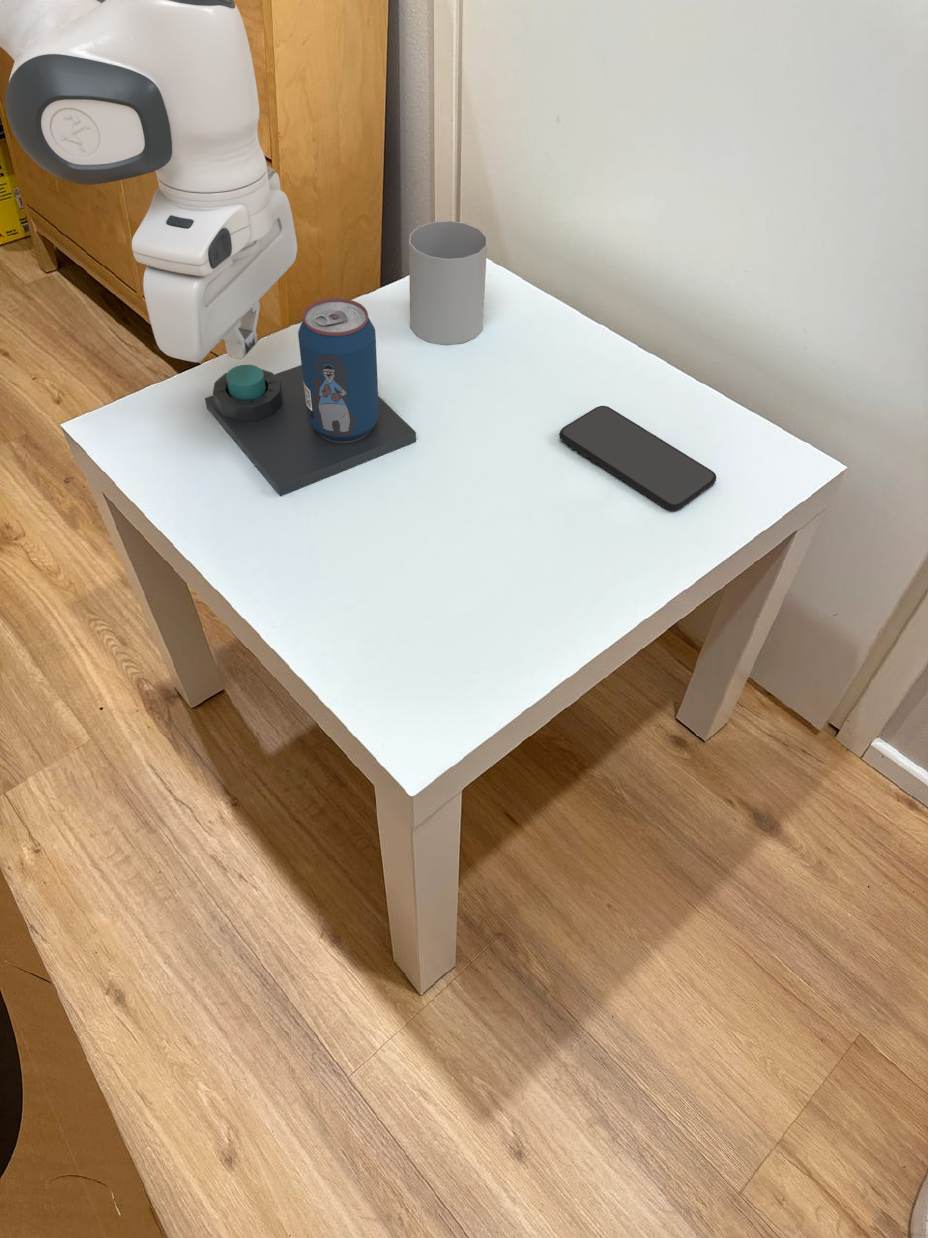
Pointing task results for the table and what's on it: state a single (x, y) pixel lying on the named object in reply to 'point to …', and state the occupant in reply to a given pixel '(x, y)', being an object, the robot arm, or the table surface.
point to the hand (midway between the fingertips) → (243, 350)
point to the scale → (297, 433)
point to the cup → (447, 281)
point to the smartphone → (638, 457)
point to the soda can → (339, 369)
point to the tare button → (246, 382)
